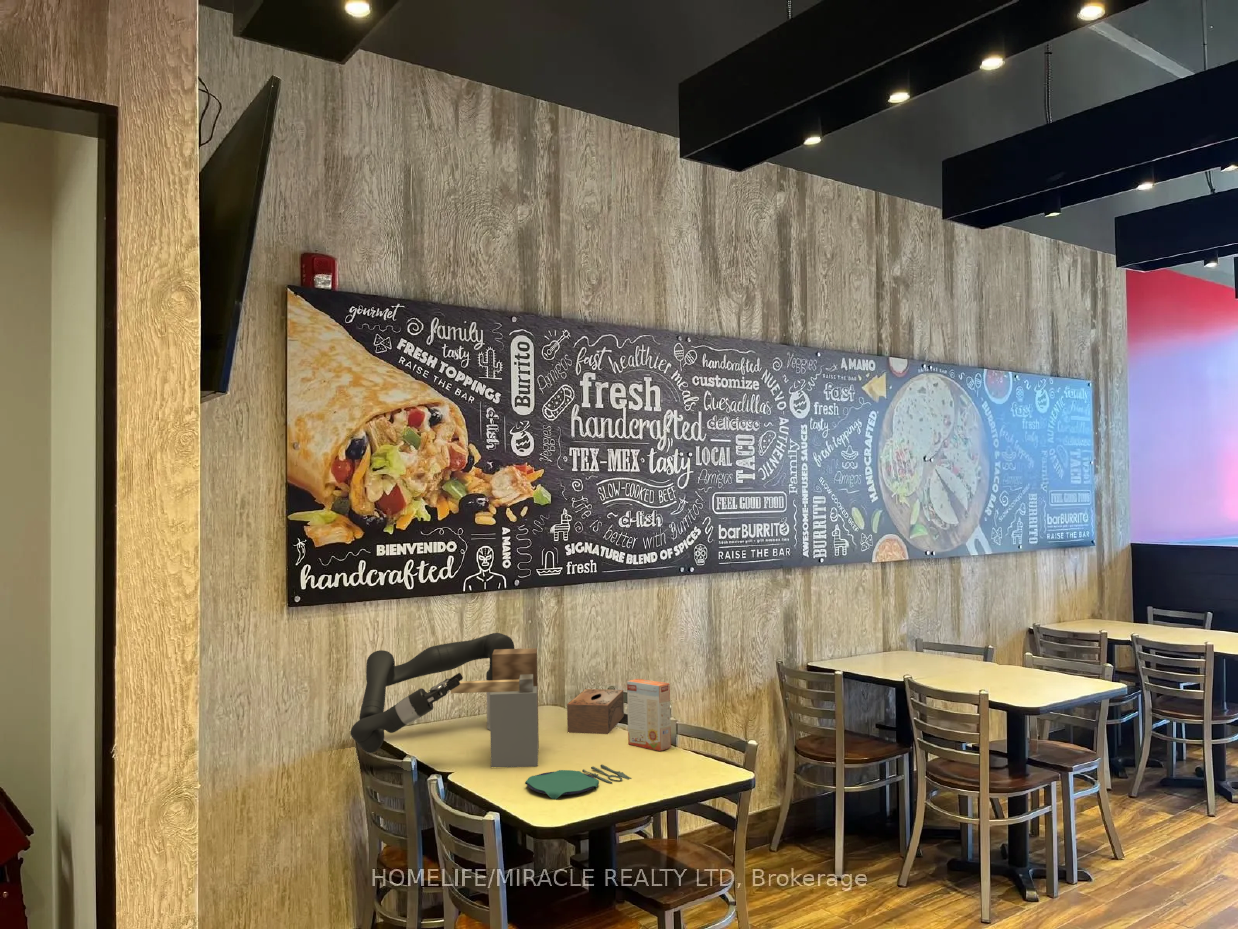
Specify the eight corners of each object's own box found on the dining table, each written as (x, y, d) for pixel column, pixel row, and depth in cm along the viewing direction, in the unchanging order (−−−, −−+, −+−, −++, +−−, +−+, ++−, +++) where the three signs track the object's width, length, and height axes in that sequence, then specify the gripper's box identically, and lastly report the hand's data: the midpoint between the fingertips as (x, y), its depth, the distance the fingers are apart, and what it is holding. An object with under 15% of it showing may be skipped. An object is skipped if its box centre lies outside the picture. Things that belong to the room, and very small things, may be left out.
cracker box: (672, 748, 289) (670, 682, 290) (660, 752, 285) (658, 685, 286) (639, 741, 299) (638, 677, 300) (627, 744, 294) (626, 680, 295)
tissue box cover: (608, 735, 308) (607, 705, 309) (567, 733, 311) (567, 704, 312) (623, 717, 333) (623, 689, 334) (586, 715, 336) (585, 689, 337)
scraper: (449, 695, 272) (449, 682, 272) (452, 689, 280) (452, 676, 280) (532, 692, 274) (532, 679, 274) (533, 687, 282) (533, 674, 282)
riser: (493, 757, 283) (492, 654, 284) (495, 748, 293) (494, 649, 294) (538, 755, 284) (536, 653, 285) (538, 746, 294) (537, 648, 295)
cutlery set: (513, 786, 254) (513, 777, 254) (600, 767, 271) (600, 760, 272) (550, 805, 238) (550, 796, 238) (640, 784, 255) (640, 776, 256)
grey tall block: (490, 768, 271) (489, 694, 272) (493, 758, 281) (492, 687, 282) (537, 766, 272) (536, 693, 273) (538, 757, 282) (536, 686, 283)
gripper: (424, 711, 282) (468, 683, 283) (417, 723, 268) (464, 693, 269) (411, 691, 282) (456, 663, 283) (403, 701, 268) (451, 672, 269)
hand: (460, 678), depth 276 cm, fingers open, 8 cm apart
